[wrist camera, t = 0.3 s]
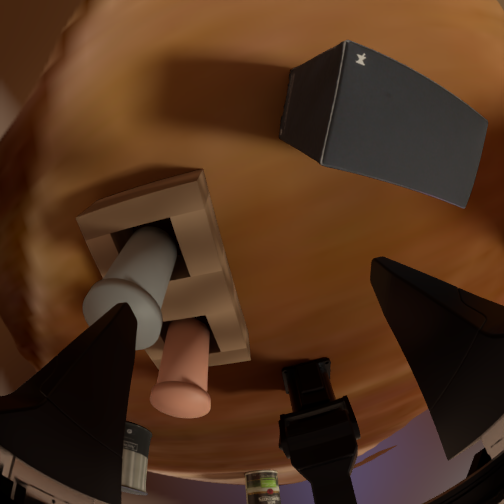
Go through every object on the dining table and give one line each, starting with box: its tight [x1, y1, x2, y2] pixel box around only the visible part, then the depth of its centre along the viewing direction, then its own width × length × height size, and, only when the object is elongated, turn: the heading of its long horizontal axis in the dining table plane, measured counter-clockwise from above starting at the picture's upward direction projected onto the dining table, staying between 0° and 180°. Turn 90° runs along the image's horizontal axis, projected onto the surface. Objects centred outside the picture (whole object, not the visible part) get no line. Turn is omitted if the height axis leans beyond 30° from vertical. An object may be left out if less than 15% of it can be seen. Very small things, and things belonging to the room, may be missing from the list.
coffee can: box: [245, 470, 281, 504], centre depth 56 cm, size 10×10×14 cm
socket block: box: [76, 169, 251, 370], centre depth 23 cm, size 18×10×4 cm, turn 11°
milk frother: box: [121, 422, 152, 495], centre depth 37 cm, size 14×16×15 cm
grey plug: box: [83, 226, 177, 350], centre depth 16 cm, size 5×5×8 cm
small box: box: [279, 40, 488, 208], centre depth 15 cm, size 11×6×10 cm, turn 81°
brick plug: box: [150, 318, 211, 418], centre depth 21 cm, size 5×5×8 cm
